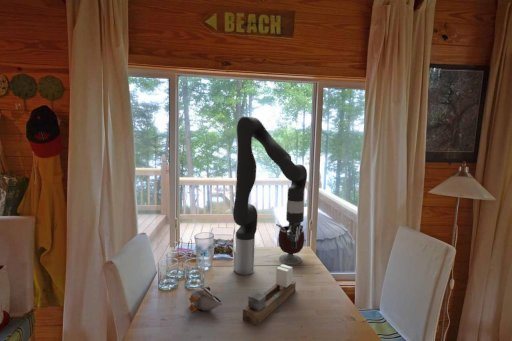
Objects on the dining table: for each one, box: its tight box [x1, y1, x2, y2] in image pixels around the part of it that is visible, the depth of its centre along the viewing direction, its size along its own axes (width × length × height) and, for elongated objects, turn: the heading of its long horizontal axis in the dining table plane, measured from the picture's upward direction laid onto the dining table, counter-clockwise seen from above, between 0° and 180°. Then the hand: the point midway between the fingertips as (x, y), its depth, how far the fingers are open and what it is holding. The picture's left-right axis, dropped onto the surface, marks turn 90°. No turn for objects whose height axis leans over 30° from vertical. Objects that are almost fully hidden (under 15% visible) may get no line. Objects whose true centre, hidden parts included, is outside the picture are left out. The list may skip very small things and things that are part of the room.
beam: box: [242, 280, 297, 326], centre depth 117 cm, size 6×30×8 cm, turn 146°
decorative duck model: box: [188, 286, 222, 313], centre depth 114 cm, size 15×8×15 cm
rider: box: [275, 263, 294, 290], centre depth 124 cm, size 5×5×9 cm
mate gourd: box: [275, 223, 305, 265], centre depth 160 cm, size 16×14×20 cm
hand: (293, 248), depth 130 cm, fingers closed
